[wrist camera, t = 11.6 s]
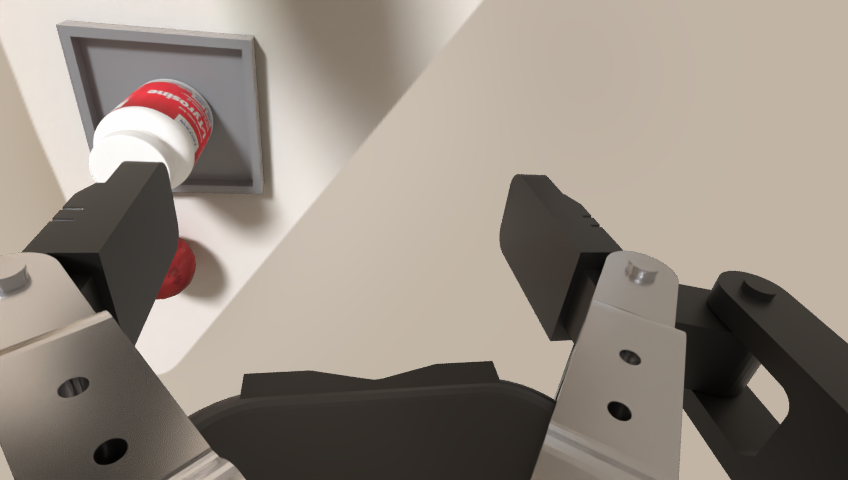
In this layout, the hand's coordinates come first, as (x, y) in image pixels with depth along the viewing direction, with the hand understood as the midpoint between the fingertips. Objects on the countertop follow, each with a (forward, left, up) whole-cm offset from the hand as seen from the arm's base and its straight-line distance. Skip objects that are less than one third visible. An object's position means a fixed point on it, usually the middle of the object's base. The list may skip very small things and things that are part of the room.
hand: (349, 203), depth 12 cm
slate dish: (+9, -12, -32) cm, 36 cm away
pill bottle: (+9, -13, -32) cm, 35 cm away
